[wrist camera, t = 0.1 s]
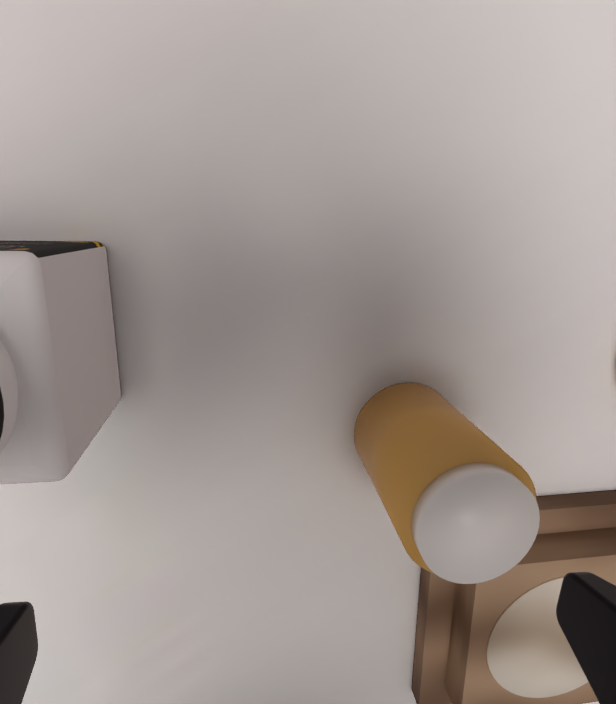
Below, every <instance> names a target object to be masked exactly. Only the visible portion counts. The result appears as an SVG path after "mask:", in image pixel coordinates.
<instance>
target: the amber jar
mask: <svg viewBox="0 0 616 704" xmlns="http://www.w3.org/2000/svg"><path fill="white" fill-rule="evenodd" d="M354 441H355V446H356V449H357V452H358V454H359V456H360V458H361V460H362V462H363V464H364V466H365V468H366V470H367V472H368V474H369V476H370V478H371V480H372V482H373V484H374V486H375V489H376V491H377V493H378V495H379V497H380V499H381V501H382V503H383V505H384V507H385V509H386V511H387V513H388V515H389V517H390V519H391V521H392V523H393V525H394V527H395V529H396V531H397V533H398V535H399V537H400V539H401V541H402V544H403V546H404V548H405V549H406V551H407V553H408V555H409V556H410V557H411V559H412V560H413V561H414V562H415V563H417V564H418V565H419V566H420V567H422V568H423V569H425V570H427V571H429V572H431V573H434V574H436V575H437V576H439V577H441V578H443V579H445V580H447V581H450V582H454V583H459V584H475V583H481V582H485V581H489V580H491V579H494V578H496V577H498V576H500V575H502V574H504V573H506V572H507V571H509V570H510V569H512V568H513V567H514V566H515V565H517V564H518V563H519V562H520V561H521V560H522V559H523V558H524V556H525V555H526V554H527V553H528V551H529V550H530V548H531V547H532V545H533V543H534V541H535V538H536V536H537V533H538V529H539V522H540V514H539V508H538V504H537V500H536V492H535V488H534V485H533V482H532V480H531V478H530V477H529V475H528V474H527V472H526V471H525V470H524V469H523V468H522V467H521V466H520V465H519V464H518V463H517V462H516V461H514V460H513V459H512V458H511V457H510V456H509V455H508V454H507V453H505V452H504V451H503V450H502V449H501V448H500V447H499V446H497V445H496V444H495V443H494V442H493V441H492V440H491V439H490V438H488V437H487V436H486V435H485V434H484V433H483V432H482V431H481V430H479V429H478V428H477V427H476V426H475V425H474V424H473V423H472V422H470V421H469V420H468V419H467V418H466V417H465V416H464V415H462V414H461V413H460V412H459V411H458V410H457V409H456V408H455V407H453V406H452V405H451V404H450V403H449V402H448V401H447V400H446V399H444V398H443V397H442V396H441V395H440V394H439V393H438V392H436V391H435V390H433V389H432V388H430V387H427V386H425V385H422V384H417V383H401V384H396V385H393V386H390V387H387V388H385V389H383V390H381V391H380V392H378V393H377V394H375V395H374V396H373V397H372V398H371V399H370V400H369V401H368V402H367V403H366V404H365V405H364V407H363V408H362V410H361V412H360V413H359V415H358V418H357V421H356V424H355V429H354Z"/></svg>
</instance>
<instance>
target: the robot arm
mask: <svg viewBox="0 0 616 704" xmlns="http://www.w3.org/2000/svg"><path fill="white" fill-rule="evenodd" d="M556 616H557V620H558V623H559V625H560V627H561V629H562V631H563V633H564V635H565V637H566V639H567V641H568V643H569V645H570V647H571V649H572V651H573V653H574V655H575V657H576V659H577V661H578V662H579V664H580V666H581V668H582V670H583V672H584V674H585V676H586V678H587V680H588V682H589V684H590V686H591V688H592V690H593V692H594V694H595V695H596V697H597V699H598V701H599V703H600V704H616V586H615V585H613V584H612V583H610V582H608V581H606V580H604V579H602V578H600V577H599V576H597V575H595V574H593V573H590V572H570V573H567V574H566V575H565V576H564V578H563V581H562V586H561V590H560V594H559V598H558V602H557V606H556ZM37 651H38V639H37V631H36V623H35V615H34V609H33V606H32V604H31V603H29V602H12V603H3V604H1V605H0V704H21V703H22V700H23V697H24V694H25V691H26V688H27V685H28V682H29V679H30V676H31V673H32V670H33V667H34V664H35V661H36V657H37Z"/></svg>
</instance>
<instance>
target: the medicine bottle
mask: <svg viewBox="0 0 616 704" xmlns="http://www.w3.org/2000/svg"><path fill="white" fill-rule="evenodd" d="M120 399H121V390H120V380H119V370H118V360H117V351H116V341H115V331H114V321H113V312H112V302H111V292H110V282H109V273H108V263H107V253H106V249H105V246H104V245H102V244H101V243H99V242H91V241H0V484H16V483H34V482H52V481H59V480H62V479H64V478H65V477H66V476H67V475H68V474H69V473H70V471H71V470H72V468H73V467H74V465H75V464H76V463H77V461H78V460H79V458H80V457H81V455H82V454H83V453H84V451H85V450H86V448H87V447H88V445H89V444H90V442H91V441H92V440H93V438H94V437H95V435H96V434H97V432H98V431H99V430H100V428H101V427H102V425H103V424H104V422H105V421H106V420H107V418H108V417H109V415H110V414H111V412H112V411H113V410H114V408H115V407H116V405H117V404H118V402H119V401H120Z"/></svg>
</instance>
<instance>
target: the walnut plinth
mask: <svg viewBox="0 0 616 704" xmlns="http://www.w3.org/2000/svg"><path fill="white" fill-rule="evenodd" d="M536 500H537V504H538V508H539V514H540V522H539V529H538V533H537V536H536V538H535V541H534V543H533V545H532V547H531V548H530V550H529V551H528V553H527V554H526V555H525V556H524V558H523V559H522V560H521V561H520V562H519V563H518V564H517V565H515V566H514V567H513V568H512V569H510V570H509V571H507V572H506V573H504V574H502V575H500V576H498V577H496V578H494V579H491V580H489V581H485V582H481V583H475V584H459V583H454V582H450V581H447V580H445V579H443V578H441V577H439V576H437V575H436V574H434V573H431V572H429V571H427V570H425V569H423V568H422V567H421V578H420V590H419V603H418V616H417V628H416V641H415V653H414V666H413V679H412V691H413V694H414V697H415V700H416V703H417V704H583V703H589V702H596V701H598V699H597V697H596V695H595V694H594V692H593V690H592V688H591V686H590V684H589V682H588V680H587V678H586V676H585V674H584V672H583V670H582V668H581V666H580V664H579V662H578V661H577V659H576V657H575V655H574V653H573V651H572V649H571V647H570V645H569V643H568V641H567V639H566V637H565V635H564V633H563V631H562V629H561V627H560V625H559V623H558V620H557V616H556V606H557V602H558V598H559V594H560V590H561V586H562V581H563V578H564V576H565V575H566V574H567V573H570V572H590V573H593V574H595V575H597V576H599V577H600V578H602V579H604V580H606V581H608V582H610V583H612V584H613V585H615V586H616V490H613V491H600V492H588V493H576V494H564V495H551V496H539V497H536Z"/></svg>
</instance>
